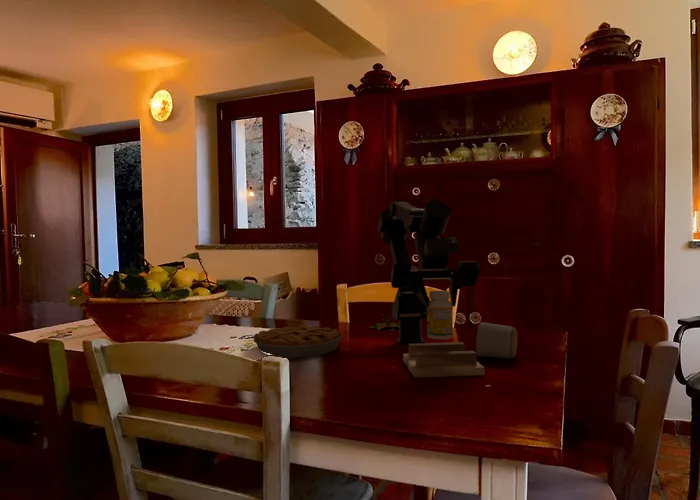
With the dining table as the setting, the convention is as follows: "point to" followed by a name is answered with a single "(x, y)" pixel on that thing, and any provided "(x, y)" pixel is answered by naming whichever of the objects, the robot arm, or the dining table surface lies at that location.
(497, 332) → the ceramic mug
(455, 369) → the beech cradle
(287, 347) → the pie
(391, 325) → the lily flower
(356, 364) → the dining table surface
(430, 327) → the supplement bottle
